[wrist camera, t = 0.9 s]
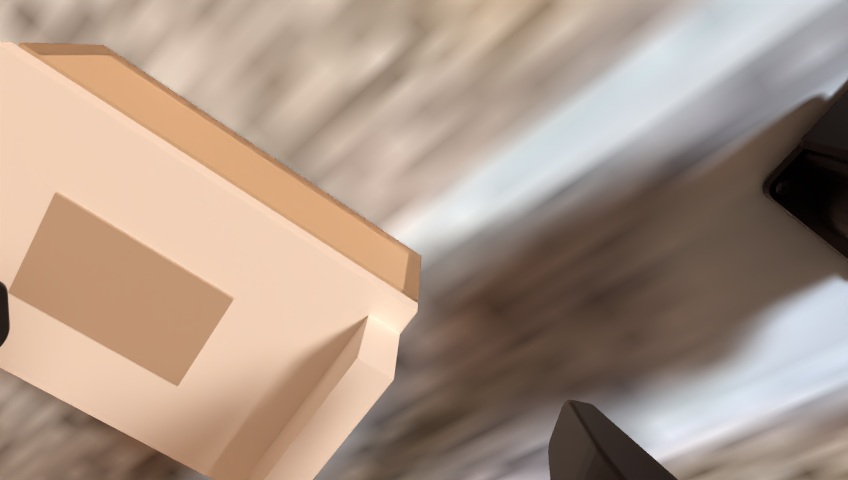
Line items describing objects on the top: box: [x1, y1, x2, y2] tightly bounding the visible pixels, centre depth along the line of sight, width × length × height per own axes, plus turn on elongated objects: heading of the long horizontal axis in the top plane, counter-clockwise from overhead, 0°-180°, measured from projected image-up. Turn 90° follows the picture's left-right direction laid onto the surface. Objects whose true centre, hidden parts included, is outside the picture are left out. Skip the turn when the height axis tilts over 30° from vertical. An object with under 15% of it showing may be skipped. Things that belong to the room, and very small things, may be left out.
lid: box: [0, 42, 418, 480], centre depth 16 cm, size 14×10×3 cm
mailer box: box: [18, 43, 421, 302], centre depth 20 cm, size 14×10×4 cm
